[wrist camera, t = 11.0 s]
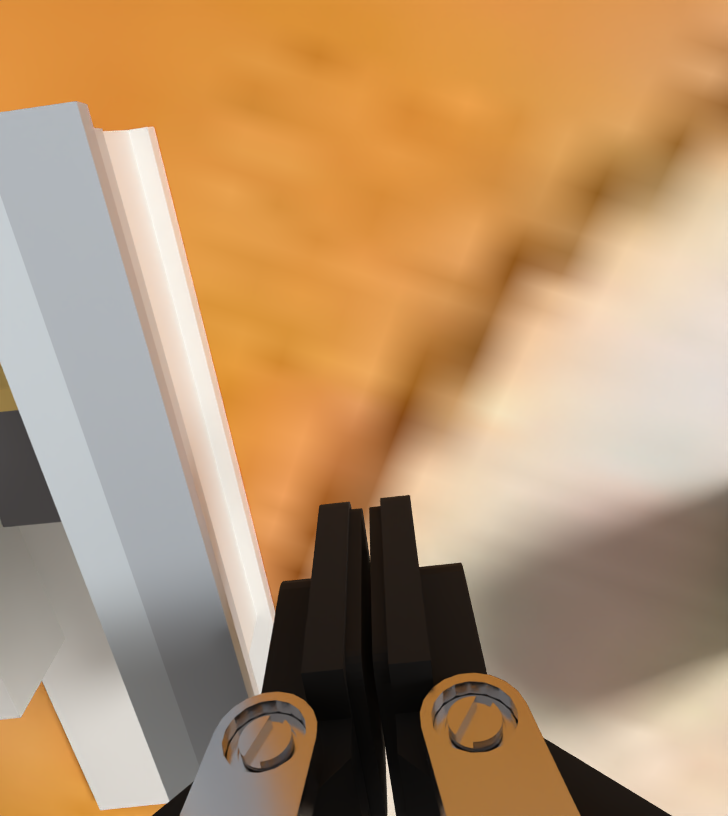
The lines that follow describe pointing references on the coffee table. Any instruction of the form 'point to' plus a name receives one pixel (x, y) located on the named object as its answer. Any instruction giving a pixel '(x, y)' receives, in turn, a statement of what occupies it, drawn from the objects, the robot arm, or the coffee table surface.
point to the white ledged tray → (52, 553)
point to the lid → (113, 433)
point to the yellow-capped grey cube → (20, 470)
